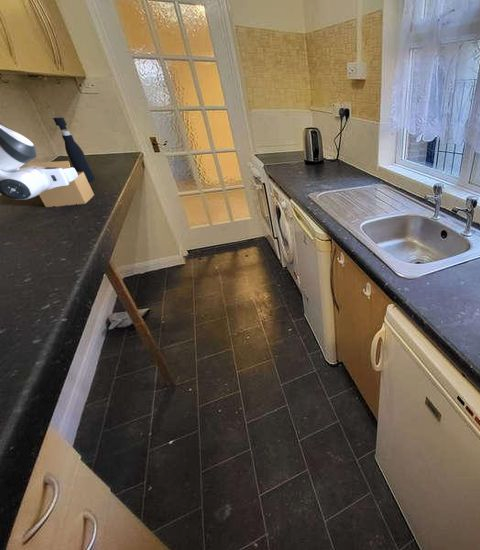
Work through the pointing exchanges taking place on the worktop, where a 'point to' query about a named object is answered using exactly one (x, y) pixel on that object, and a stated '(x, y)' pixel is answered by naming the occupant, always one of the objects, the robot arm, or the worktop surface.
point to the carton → (68, 193)
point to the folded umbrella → (74, 151)
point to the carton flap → (51, 164)
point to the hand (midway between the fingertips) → (49, 171)
